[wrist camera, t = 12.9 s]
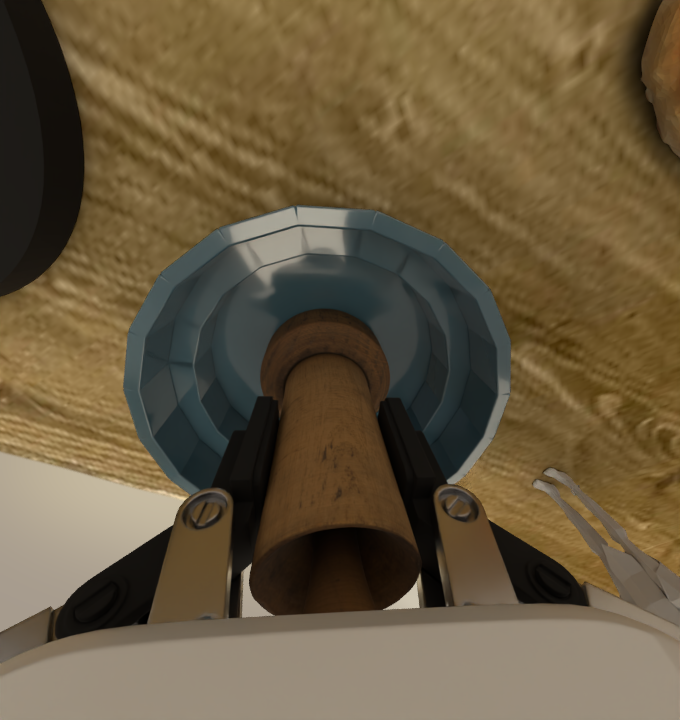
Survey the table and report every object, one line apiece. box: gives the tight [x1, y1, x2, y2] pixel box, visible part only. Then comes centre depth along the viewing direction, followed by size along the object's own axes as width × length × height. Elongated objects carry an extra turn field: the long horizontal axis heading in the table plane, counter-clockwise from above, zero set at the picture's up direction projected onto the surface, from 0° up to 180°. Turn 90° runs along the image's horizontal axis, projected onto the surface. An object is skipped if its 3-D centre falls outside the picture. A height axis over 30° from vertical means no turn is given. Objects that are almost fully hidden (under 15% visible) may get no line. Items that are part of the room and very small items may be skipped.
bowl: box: [123, 205, 511, 495], centre depth 15 cm, size 16×16×6 cm
